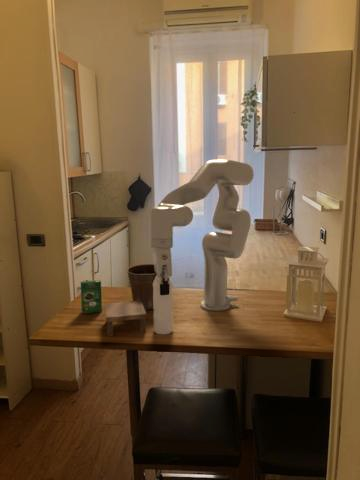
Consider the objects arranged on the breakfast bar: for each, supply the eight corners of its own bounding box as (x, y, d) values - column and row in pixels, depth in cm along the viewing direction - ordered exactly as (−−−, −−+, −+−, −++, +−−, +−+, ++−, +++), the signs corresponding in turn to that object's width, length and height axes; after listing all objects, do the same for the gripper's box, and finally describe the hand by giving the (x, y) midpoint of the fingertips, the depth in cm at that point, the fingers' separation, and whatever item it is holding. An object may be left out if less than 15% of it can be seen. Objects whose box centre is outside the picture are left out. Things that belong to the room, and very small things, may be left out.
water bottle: (154, 326, 141) (153, 261, 136) (173, 327, 141) (173, 261, 136) (152, 335, 134) (151, 266, 130) (172, 335, 134) (171, 266, 129)
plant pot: (121, 310, 158) (120, 272, 155) (137, 297, 173) (136, 262, 170) (158, 314, 153) (157, 275, 150) (171, 300, 168) (170, 265, 165)
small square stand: (141, 317, 150) (141, 300, 149) (146, 332, 137) (146, 313, 136) (105, 320, 147) (104, 303, 146) (107, 336, 134) (106, 317, 132)
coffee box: (101, 309, 159) (100, 279, 156) (102, 311, 156) (101, 281, 154) (81, 312, 156) (79, 281, 153) (82, 314, 153) (80, 283, 151)
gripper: (177, 247, 124) (177, 297, 127) (167, 237, 140) (167, 282, 144) (155, 248, 122) (155, 299, 125) (147, 238, 139) (147, 283, 142)
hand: (162, 290), depth 134 cm, fingers open, 9 cm apart
